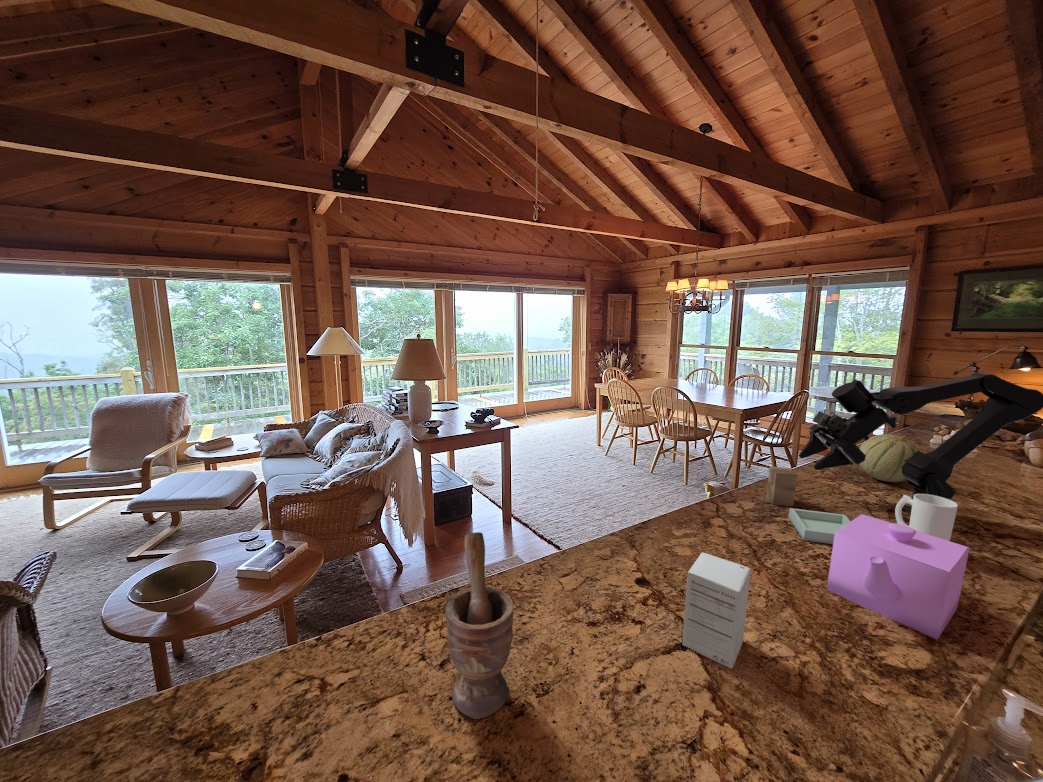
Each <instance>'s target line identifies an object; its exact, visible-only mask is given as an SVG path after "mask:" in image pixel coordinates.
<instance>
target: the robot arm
mask: <svg viewBox="0 0 1043 782" xmlns="http://www.w3.org/2000/svg"><path fill="white" fill-rule="evenodd" d="M978 393H981V394H982V395H983V396H986V397H988V398H987V399H986V400H985V404H984V408H983V410H982V411H981V412H980V413H978V415H977V416H975V417H974V418H973V419H971V420H970V421H969V422H967V424H965V425H964V426H963V427H961V428H960V429H959V430H958V431H956V432H955V433H953V435H951V436H950V437H949V438H947V439H946V440H945V441H943V443H942V444H940V445H938V447H937V448H935V449H934V450H932V451H930V452H926V453H925V452H922V451H920V450H919V451H917V452H915V453H914V454H913V455H912V456H911V457H910V458H909V459H906V460H904V461H905V462H906V463H905V464H904V465H903V466H902V475H903V476H904V477H905V478H906V480H905V481H906V483H907V485H908V486H911V487H912V488H913V489H912V495H911V498H912V499H913V498H914V495H915V494H928V495H934V496H939V497H942V498H946V499H949V500H952V498H953V497H954V495H955V494H956V490H955V489H954V488H953V487H952V486H951V485H950V484H949V483H948V482H947V481H948V480H949V479H950V478H951V476H952V472H953V469H954V466H955V465H956V464H957V463H959V462H960V461H961V460H963V459H964V458H965V457H966V456H968V455H969V454H970V453H972V452H973V451H974V450H975V449H977V448H978V447H979V446H981V444H984V443H985V442H986V441H987V440H988V439H990V437H992V436H993V435H994V434H996V433H998V432H999V431H1000V430H1002V428H1004V427H1005V426H1006V425H1008V424H1012V423H1014V422H1019V421H1022V420H1025V419H1027V418H1029V417H1031V416H1033V415H1035V414H1036V413H1037V412H1038V413H1039V412H1040V411H1041V410H1042V409H1043V392H1041V391H1040V390H1037V389H1032V388H1027V387H1023V386H1020V385H1018V384H1015V383H1012V382H1010V381H1008V380H1005V379H1003V378H1001V377H999V376H998V375H996V374H991V373H986V372H985V373H983V372H975V373H974V372H973V373H972V374H970V375H964V376H961V377H956V378H955V377H954V378H951V379H947V380H942V381H938V382H934V383H928V384H924V385H919V386H896V387H886V388H883V389H880V391H878V392H877V391H876V392H875V391H874V392H870V391H869V390H868V388H867V387H865V385H864V384H863V382H862V381H861V380H859V379H854V380H852V381H851V382H846V383H844V384H842V385H839V386H837V387H836V388H835V389H834V390H833V391H832V393H831V396H832V397H833V398H834V399H835V400H836V402H838V404H839V405H840V406H841V407H842V408H843V409H844V410H845V411H846V412H847V413H854V414H853V415H851V416H850V417H849V418H846V417H843V416H840V415H837V414H833V415H832V416H831V415H829V414H827V413H825V412H823V411H821V410H819V411H818V412H817V413H816V414H815V416H814V418H813V419H812V422H813V423H815V424H813V425H812V426H810V427H809V428H808V429H809V432H808V433H809V440H808V441H807V443H806V444H805V446H804V448H803V449H802V450H801V451H800V453H799V454H798V456H799V458H800V459H804V458H805V459H806V458H808V457H811V456H813V455H816V454H819V453H822V452H824V451H826V450H829V449H830V451H829V452H828V453H826V455H824V456H823V457H822V458H821V459H820V460H818V461H817V462H816V463H815V464H814V465H813V468H814V470H816V471H818V470H819V471H820V470H824V469H829V468H836V467H841V466H842V467H843V466H849V465H850V466H853V465H854V464H855V465H857V466H859V465H860V464H861V463H862V462H864V461H865V457H866V455H865V454H864V453H863V452H862V451H861V450H860V447H858V446H857V445H856V444H858V443H859V442H861V441H862V440H863V441H864V442H865V441H867V440H868V439H870V438H871V437H870V436H869V435H871V434H872V433H873V432H875V431H877V430H878V429H879V428H881V427H883V426H884V425H885V426H887V427H890V428H891V429H895V428H896V427H897V426H896V425H897V423H896V420H897V417H896V416H893V415H889V414H888V413H887V412H886V411H888V412H890V413H894V414H897V415H906V414H909V413H912V412H916V411H918V410H920V409H922V408H923V407H924V406H926V405H929V404H931V403H936V402H940V401H944V400H949V399H954V398H959V397H963V396H967V395H972V394H973V395H974V394H978ZM874 404H875V405H874ZM876 405H877V406H878V407H876ZM902 508H903V509H905V510H906V511H908V512H909V513H910V514H911V510H912V505H911V504H909V505H907V504H905V505H904V506H903V507H902Z"/></svg>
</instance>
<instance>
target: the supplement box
mask: <svg viewBox="0 0 1043 782" xmlns="http://www.w3.org/2000/svg"><path fill="white" fill-rule="evenodd" d="M751 571H752V570H751V568H750V567H748V566H745V565H742V564H740V563H736V562H733V561H730V560H728V559H724V558H720V557H719V556H715V555H713V554H708V553H706V552H703V551H702V552H701V553H700V554H699V556H698V557H697V558H696V560H695V562H694V563H693V564H692V566H691V567H690V569H689V570H688V572H687V583H686V593H685V605H684V607H685V608H684V619H683V632H682V646H684V647H685V646H686V648H687V647H688V648H687V649H689V648H690V649H689V650H691V649H692V650H691V651H693V650H694V652H695V651H696V652H695V653H697V654H699V655H701V656H703V657H706V658H708V659H710V660H712V661H714V662H716V663H719V664H721V665H722V666H725V667H727V668H729V669H733V668H734V665H735V664H736V661H737V658H738V656H739V653H740V650H741V648H742V645H743V643H744V640H745V639H744V637H745V628H746V627H745V626H746V619H747V617H746V616H747V609H748V608H747V607H748V601H749V600H748V598H749V591H750V589H749V588H750V580H751V579H750V578H751Z"/></svg>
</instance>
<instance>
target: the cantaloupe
mask: <svg viewBox="0 0 1043 782" xmlns="http://www.w3.org/2000/svg"><path fill="white" fill-rule="evenodd" d="M869 438H870V439H868V440H867V441H865V440H864V442H863V443H862V444H861V445H860V447H859V449H860V450H861V451H862V452H863V453H864V454H865V455H866V457H865V461H864V462H862V463H861V464H859V465H860V467H861V469H862V470H864V472H865V473H867V474H868V475H869V476H870V477H872V478H874V479H875V480H878V481H883V482H887V483H902V482H905V481H906V478H905V477H904V476H903V475H902V466H903V465H904V464H905V463H906V462H905V461H904V460H906V459H909V458H910V457H911V456H912V455H913V454H914V453H915V452H917V451H920V450H919V449H918V447H917V446H916V445H914V443H913V442H911V441H910V440H908V439H907V438H908V437H907V435H902V436H900V435H896V434H890V433H883V434H882V433H881V434H876V435H874V436H872V437H869Z"/></svg>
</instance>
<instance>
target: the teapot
mask: <svg viewBox="0 0 1043 782" xmlns="http://www.w3.org/2000/svg"><path fill="white" fill-rule="evenodd" d="M850 521H851V522H850V523H848V524H847V525H845V526H844V527H843V528H841V529H840V530H838V531H837V532H836V533H835V535H834V542H833V544H832V549H831V550H832V551H831V558H830V565H829V571H828V578H827V585H826V591H828V592H830V593H833V594H835V595H837V596H839V597H841V598H844V599H846V600H848V601H850V602H852V603H855V604H856V605H859V606H861V607H863V608H866V609H867V610H870V611H872V612H875V613H877V614H879V615H881V616H884V617H886V618H888V619H890V620H892V621H895V622H897V623H898V624H900V625H903V626H905V627H907V628H909V629H910V628H911V629H912V630H914V631H916V632H918V633H921V634H923V635H925V636H928V637H930V638H932V639H934V640H936V641H937V640H939V638H940V636H941V635H942V633H943V632H944V630H945V628H946V627H947V626H948V623H949V622H950V621H951V619H952V618H953V616H954V614H955V613H956V612H957V609H958V607H959V601H960V596H961V591H962V587H963V582H964V576H965V571H966V567H967V563H968V562H967V561H968V558H969V553H970V547H969V546H966V545H962V544H960V543H956V542H953V541H951V540H950V541H947V540H944V539H941V538H938V537H934V536H931V535H928V534H925V533H922V532H919V531H917V530H914V529H912V528H911V527H908V526H909V525H908V526H906V525H907V524H906V525H902V524H897V522H896V523H892V522H889V521H886V520H882V519H879V518H876V517H873V516H871V515H867V514H862V513H861V514H860V515H859V516H857V517H855V518H854V519H853V520H850Z"/></svg>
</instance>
